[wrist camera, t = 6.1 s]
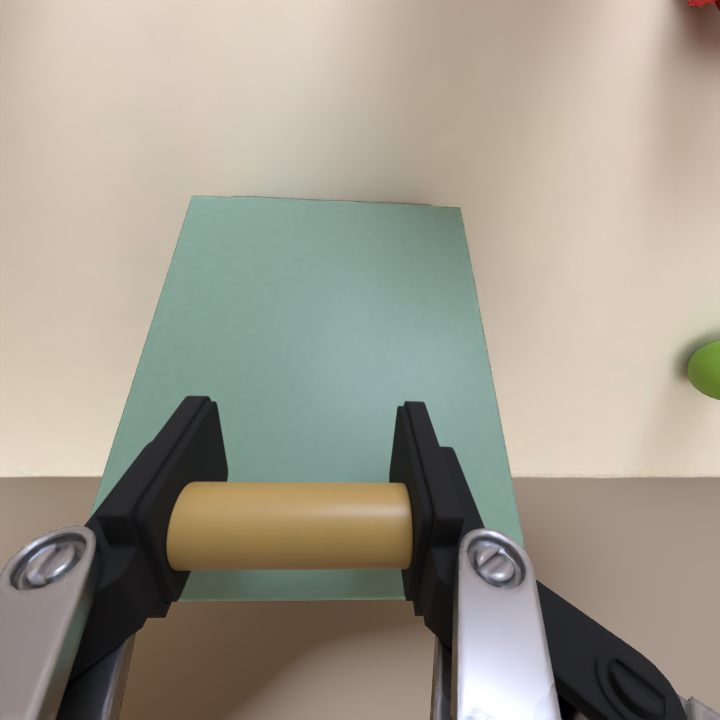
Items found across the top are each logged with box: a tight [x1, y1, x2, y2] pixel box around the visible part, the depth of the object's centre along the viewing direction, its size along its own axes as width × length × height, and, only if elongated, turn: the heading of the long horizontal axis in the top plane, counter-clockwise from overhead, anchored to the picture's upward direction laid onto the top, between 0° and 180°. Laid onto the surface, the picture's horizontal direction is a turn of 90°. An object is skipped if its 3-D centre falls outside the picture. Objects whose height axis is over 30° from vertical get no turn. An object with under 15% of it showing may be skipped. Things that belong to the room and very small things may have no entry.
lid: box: [89, 196, 525, 601], centre depth 12 cm, size 17×14×5 cm
